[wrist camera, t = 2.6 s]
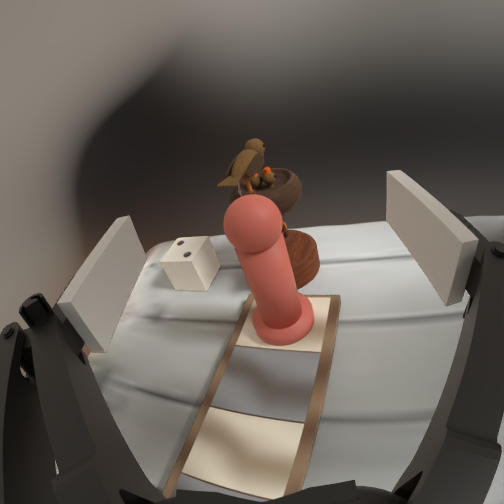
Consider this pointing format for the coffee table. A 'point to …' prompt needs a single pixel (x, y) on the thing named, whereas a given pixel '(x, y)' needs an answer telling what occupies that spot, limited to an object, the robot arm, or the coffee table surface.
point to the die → (191, 263)
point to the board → (260, 412)
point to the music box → (285, 198)
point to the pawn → (268, 270)
